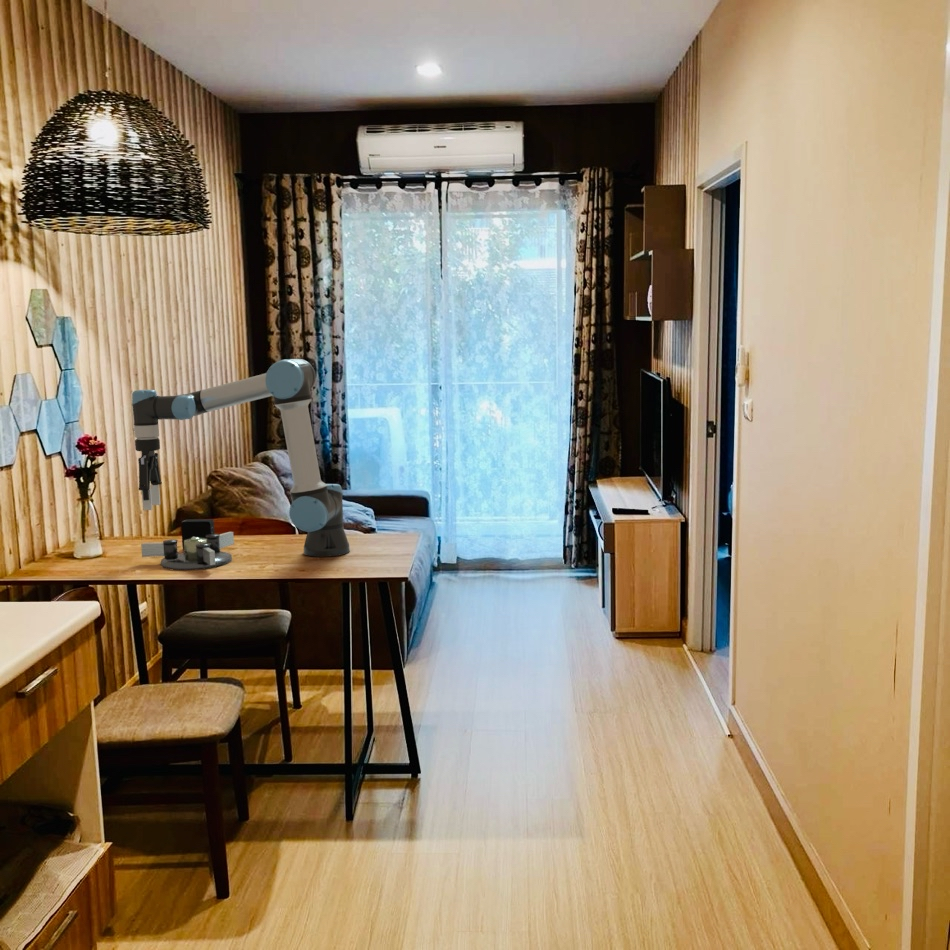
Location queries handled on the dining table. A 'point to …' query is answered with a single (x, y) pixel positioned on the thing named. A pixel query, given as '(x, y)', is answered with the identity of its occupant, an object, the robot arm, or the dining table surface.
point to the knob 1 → (160, 549)
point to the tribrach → (194, 557)
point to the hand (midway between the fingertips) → (151, 507)
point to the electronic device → (196, 528)
